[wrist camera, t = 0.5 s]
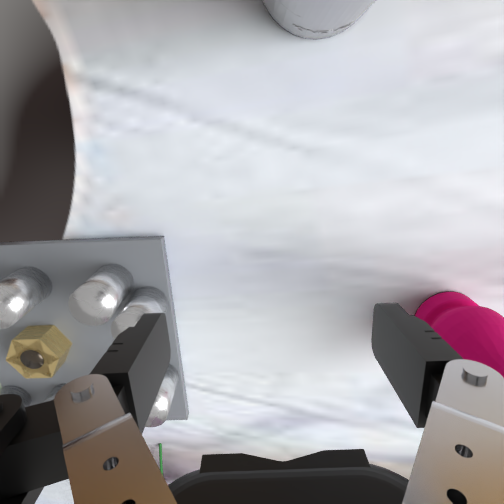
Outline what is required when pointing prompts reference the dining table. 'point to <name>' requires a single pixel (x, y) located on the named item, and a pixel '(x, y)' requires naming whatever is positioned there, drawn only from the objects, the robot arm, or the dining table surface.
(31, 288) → the spacers
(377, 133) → the dining table surface
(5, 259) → the board
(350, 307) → the dining table surface
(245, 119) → the dining table surface
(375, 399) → the dining table surface
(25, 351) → the nut
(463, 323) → the pepper mill
